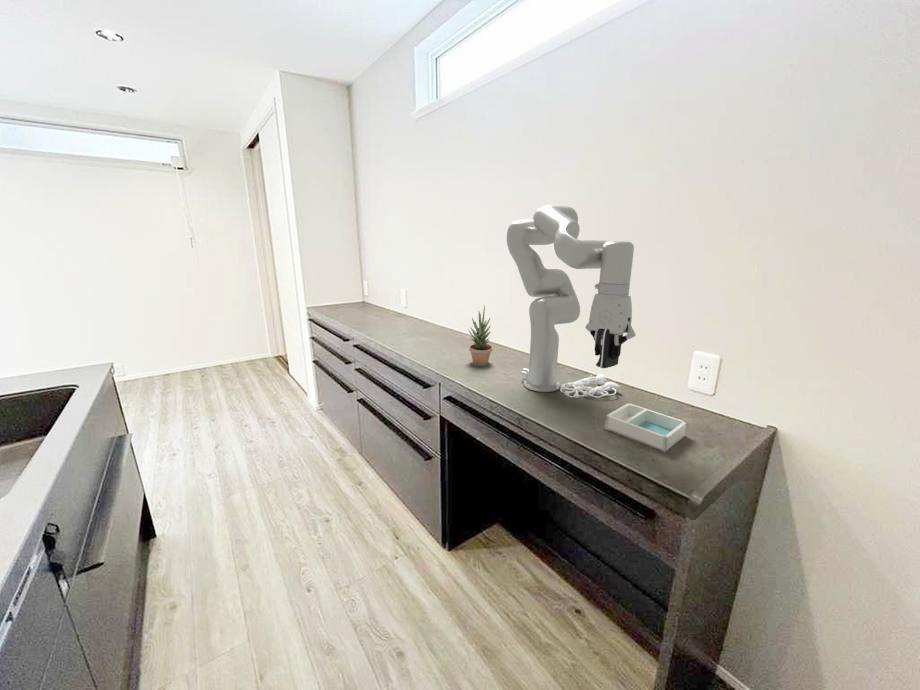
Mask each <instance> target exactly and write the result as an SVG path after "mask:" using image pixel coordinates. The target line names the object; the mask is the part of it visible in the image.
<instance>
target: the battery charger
mask: <svg viewBox="0 0 920 690" xmlns="http://www.w3.org/2000/svg"><path fill="white" fill-rule="evenodd" d="M596 345H599V348H600V355H599V358H598V361H597V362H596V364H595V366H596V367H598V368H600V369H608V368H611V367H616V366H618V364H619V357H620V356H619V357H618V358H616V359H614V360H613V359H611V350H612V345H614V334H610V333H609V329H598V331H597V337H596Z"/></svg>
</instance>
